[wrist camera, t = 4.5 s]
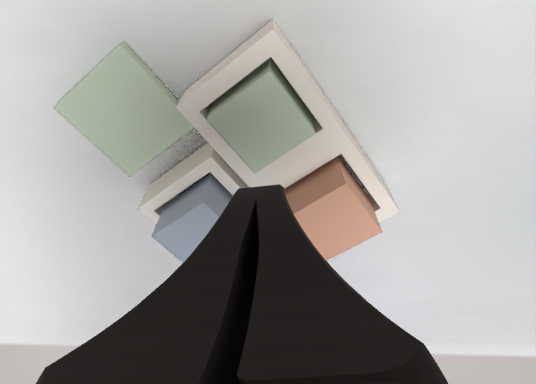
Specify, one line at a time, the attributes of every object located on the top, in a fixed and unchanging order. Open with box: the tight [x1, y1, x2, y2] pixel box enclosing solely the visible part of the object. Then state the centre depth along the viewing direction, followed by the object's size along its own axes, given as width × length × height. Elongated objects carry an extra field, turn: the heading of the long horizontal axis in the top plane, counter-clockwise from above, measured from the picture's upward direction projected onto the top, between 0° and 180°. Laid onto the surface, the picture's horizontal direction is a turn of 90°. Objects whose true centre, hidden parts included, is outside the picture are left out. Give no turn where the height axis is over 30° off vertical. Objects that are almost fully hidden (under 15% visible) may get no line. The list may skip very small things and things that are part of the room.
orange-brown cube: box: [284, 156, 382, 260], centre depth 19 cm, size 3×3×3 cm
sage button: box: [207, 57, 316, 173], centre depth 18 cm, size 3×3×3 cm
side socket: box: [138, 143, 249, 225], centre depth 21 cm, size 5×5×2 cm
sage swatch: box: [53, 42, 194, 177], centre depth 19 cm, size 5×5×1 cm
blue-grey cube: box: [152, 173, 233, 262], centre depth 19 cm, size 3×3×3 cm
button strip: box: [176, 19, 400, 222], centre depth 19 cm, size 5×11×2 cm, turn 37°
